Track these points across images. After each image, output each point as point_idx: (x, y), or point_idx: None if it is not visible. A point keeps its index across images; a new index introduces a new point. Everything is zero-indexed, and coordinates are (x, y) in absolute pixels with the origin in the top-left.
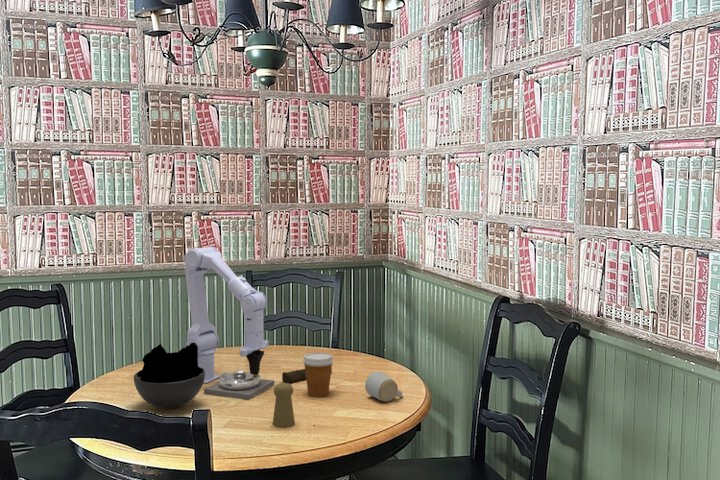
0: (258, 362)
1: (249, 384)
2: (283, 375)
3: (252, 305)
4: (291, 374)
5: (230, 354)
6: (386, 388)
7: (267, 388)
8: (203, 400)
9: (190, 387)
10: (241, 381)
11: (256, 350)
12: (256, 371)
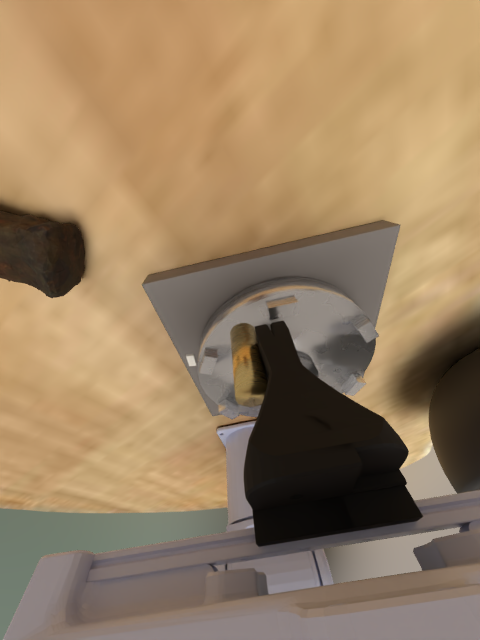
0: (306, 370)
1: (334, 291)
2: (65, 279)
3: None
4: (8, 232)
5: (81, 493)
6: None
7: (213, 261)
8: (411, 341)
9: None
10: (368, 320)
11: (345, 526)
12: (288, 331)
